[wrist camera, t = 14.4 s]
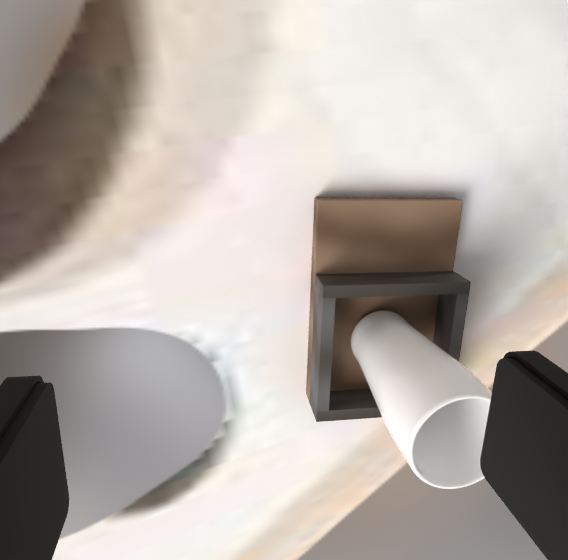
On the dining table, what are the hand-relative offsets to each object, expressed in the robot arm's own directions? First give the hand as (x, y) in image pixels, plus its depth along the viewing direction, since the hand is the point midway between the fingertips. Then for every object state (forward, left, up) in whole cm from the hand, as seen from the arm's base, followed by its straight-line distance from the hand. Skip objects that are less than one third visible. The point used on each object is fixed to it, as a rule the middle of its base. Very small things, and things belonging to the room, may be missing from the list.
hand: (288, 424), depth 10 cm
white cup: (+12, +13, -29) cm, 34 cm away
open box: (+9, +13, -30) cm, 34 cm away
